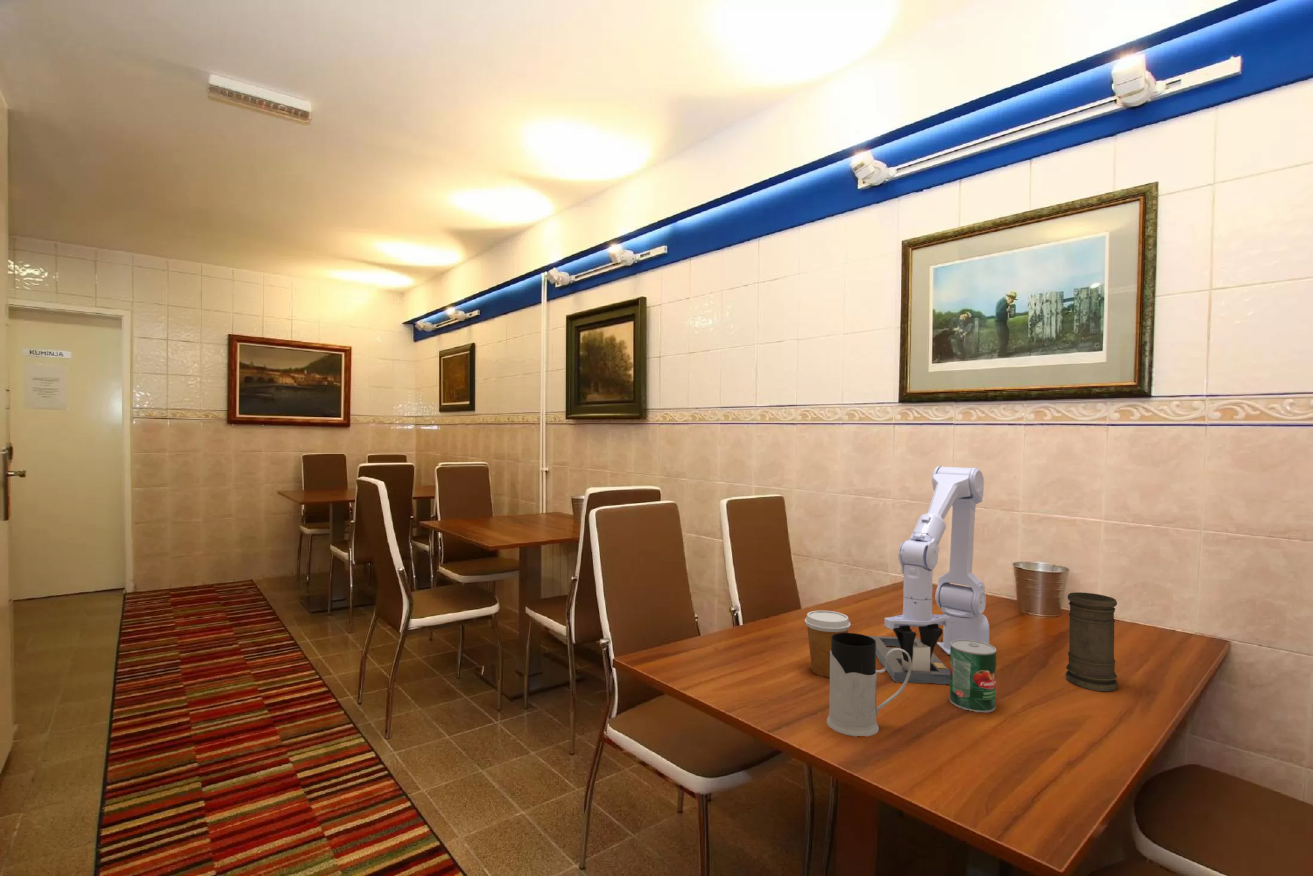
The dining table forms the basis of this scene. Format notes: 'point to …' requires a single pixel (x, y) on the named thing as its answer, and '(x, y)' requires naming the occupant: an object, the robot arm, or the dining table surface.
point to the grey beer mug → (856, 684)
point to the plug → (919, 657)
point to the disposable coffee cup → (823, 637)
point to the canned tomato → (973, 675)
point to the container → (1091, 641)
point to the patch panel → (898, 674)
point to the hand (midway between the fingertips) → (916, 660)
